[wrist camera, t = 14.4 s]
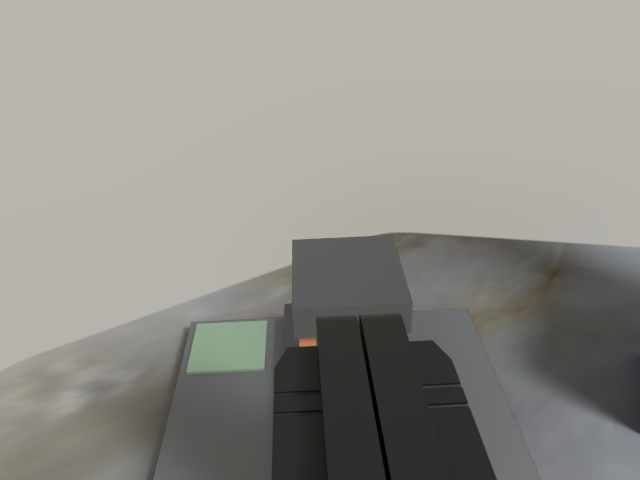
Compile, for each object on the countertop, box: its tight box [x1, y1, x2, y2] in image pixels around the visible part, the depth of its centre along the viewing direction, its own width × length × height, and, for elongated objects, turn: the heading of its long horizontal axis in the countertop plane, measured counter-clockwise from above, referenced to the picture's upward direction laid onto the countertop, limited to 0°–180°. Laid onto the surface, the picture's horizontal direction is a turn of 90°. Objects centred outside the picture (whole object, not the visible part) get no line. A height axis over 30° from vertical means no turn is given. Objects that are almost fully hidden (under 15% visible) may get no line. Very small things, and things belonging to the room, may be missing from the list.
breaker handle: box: [292, 235, 413, 347], centre depth 24 cm, size 4×4×14 cm
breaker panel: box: [153, 304, 541, 480], centre depth 34 cm, size 20×20×2 cm
